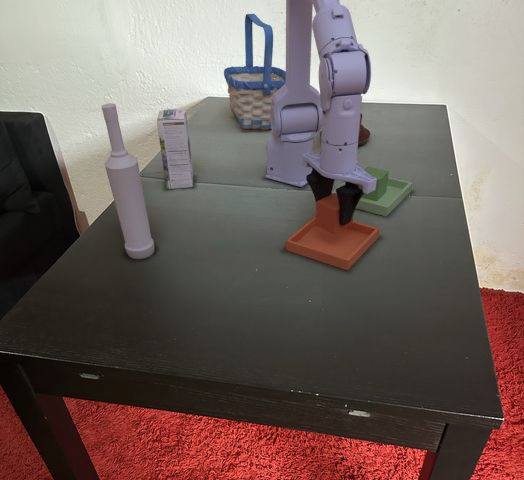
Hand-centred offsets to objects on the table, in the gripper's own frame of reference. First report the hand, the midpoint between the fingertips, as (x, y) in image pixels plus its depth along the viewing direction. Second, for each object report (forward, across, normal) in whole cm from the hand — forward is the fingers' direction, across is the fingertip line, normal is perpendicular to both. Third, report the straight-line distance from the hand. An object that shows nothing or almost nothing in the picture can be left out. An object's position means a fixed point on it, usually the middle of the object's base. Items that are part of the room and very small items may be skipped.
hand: (334, 218), depth 90 cm
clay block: (+1, 0, 0) cm, 1 cm away
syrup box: (+5, +40, +6) cm, 41 cm away
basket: (+5, +56, -31) cm, 64 cm away
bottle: (+5, +22, +26) cm, 35 cm away
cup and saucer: (+5, +30, -36) cm, 48 cm away
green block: (+5, +7, -19) cm, 21 cm away
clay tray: (+5, 0, 0) cm, 5 cm away
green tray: (+5, +7, -19) cm, 21 cm away
